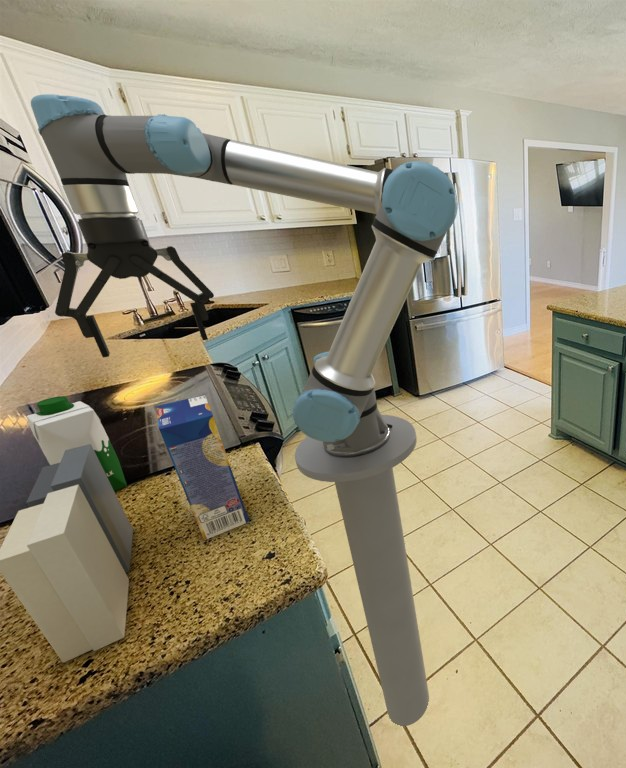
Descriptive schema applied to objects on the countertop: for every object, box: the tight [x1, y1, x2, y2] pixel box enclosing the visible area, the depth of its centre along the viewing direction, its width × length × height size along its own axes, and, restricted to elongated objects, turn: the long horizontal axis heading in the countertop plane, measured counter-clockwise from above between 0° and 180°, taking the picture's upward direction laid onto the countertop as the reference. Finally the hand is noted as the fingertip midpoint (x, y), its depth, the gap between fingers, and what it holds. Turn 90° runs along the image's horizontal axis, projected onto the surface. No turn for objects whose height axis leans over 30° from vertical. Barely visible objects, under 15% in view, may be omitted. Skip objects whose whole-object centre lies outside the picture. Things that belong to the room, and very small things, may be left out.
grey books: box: [25, 444, 134, 574], centre depth 63 cm, size 6×12×18 cm, turn 39°
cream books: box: [0, 485, 130, 664], centre depth 53 cm, size 6×12×18 cm, turn 39°
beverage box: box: [155, 394, 250, 541], centre depth 72 cm, size 7×11×22 cm, turn 41°
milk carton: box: [26, 395, 128, 492], centre depth 80 cm, size 9×9×20 cm
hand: (158, 346), depth 72 cm, fingers open, 13 cm apart
